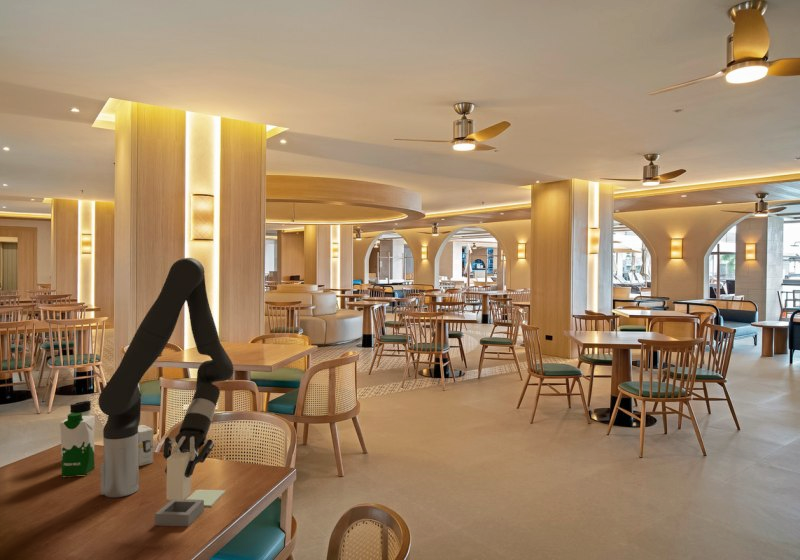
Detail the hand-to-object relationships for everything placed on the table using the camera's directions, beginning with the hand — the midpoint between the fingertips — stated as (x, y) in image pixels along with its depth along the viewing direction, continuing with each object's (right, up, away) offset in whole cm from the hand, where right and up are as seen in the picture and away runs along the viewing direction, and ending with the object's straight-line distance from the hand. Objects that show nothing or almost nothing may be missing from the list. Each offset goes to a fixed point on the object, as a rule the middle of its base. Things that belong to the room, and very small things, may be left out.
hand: (177, 475), depth 140 cm
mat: (+2, -11, +13) cm, 17 cm away
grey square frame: (0, -12, +1) cm, 12 cm away
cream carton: (0, -6, +1) cm, 6 cm away
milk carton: (-46, -11, +33) cm, 58 cm away
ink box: (-31, -11, +42) cm, 54 cm away
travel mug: (-54, -11, +47) cm, 73 cm away
